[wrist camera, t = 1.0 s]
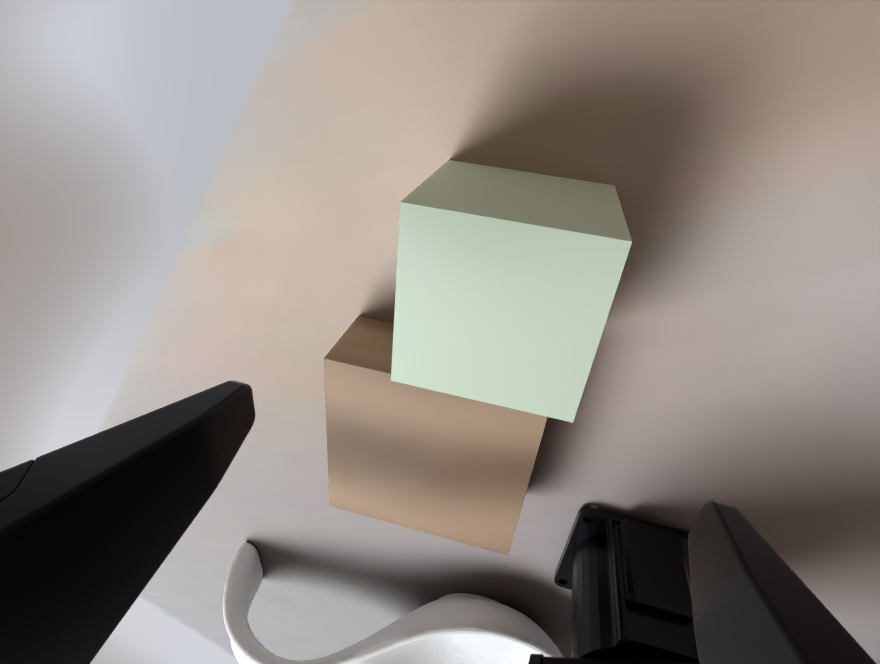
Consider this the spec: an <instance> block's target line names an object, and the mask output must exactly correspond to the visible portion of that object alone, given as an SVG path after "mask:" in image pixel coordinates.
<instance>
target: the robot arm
mask: <svg viewBox="0 0 880 664" xmlns="http://www.w3.org/2000/svg"><path fill="white" fill-rule="evenodd" d="M254 420H255V409H254V401H253V394H252V388H251V387H250V385H248V384H245V383H241V382H237V381H227V382H225V383H222V384H220V385H217V386H215V387H212V388H210V389H207V390H205V391H202V392H200V393H197V394H195V395H192V396H190V397H187V398H185V399H182V400H180V401H177V402H175V403H172V404H170V405H167V406H165V407H162V408H160V409H157V410H155V411H152V412H150V413H147V414H145V415H142V416H140V417H137V418H135V419H132V420H130V421H127V422H125V423H122V424H120V425H117V426H115V427H112V428H110V429H107V430H105V431H102V432H100V433H97V434H95V435H92V436H90V437H87V438H85V439H82V440H80V441H77V442H75V443H72V444H70V445H67V446H65V447H62V448H60V449H58V450H55V451H52V452H50V453H47V454H45V455H42V456H40V457H38V458H36V460H35V461H34V460H30V461H27V462H25V463H22V464H20V465H17V466H15V467H12V468H10V469H7V470H5V471H2V472H0V664H90V662H91V661H92V660H93V658H94V657H95V656H96V654H97V653H98V652H99V650H100V649H101V647H102V646H103V645H104V643H105V641H106V640H107V639H108V638H109V636H110V635H111V634H112V632H113V631H114V629H115V628H116V627H117V625H118V624H119V622H120V621H121V620H122V618H123V617H124V615H125V614H126V613H127V611H128V610H129V609H130V607H131V605H132V604H133V603H134V602H135V600H136V599H137V597H138V596H139V595H140V593H141V592H142V591H143V589H144V588H145V586H146V585H147V584H148V582H149V581H150V579H151V578H152V577H153V575H154V574H155V573H156V571H157V570H158V568H159V567H160V566H161V564H162V563H163V561H164V560H165V559H166V557H167V556H168V555H169V553H170V552H171V550H172V549H173V548H174V546H175V545H176V543H177V542H178V541H179V539H180V538H181V537H182V535H183V534H184V532H185V531H186V530H187V528H188V527H189V525H190V524H191V523H192V521H193V520H194V519H195V517H196V516H197V514H198V513H199V512H200V510H201V509H202V507H203V506H204V505H205V503H206V502H207V501H208V499H209V498H210V496H211V495H212V493H213V492H214V490H215V489H216V488H217V486H218V484H219V483H220V481H221V479H222V478H223V476H224V474H225V473H226V471H227V469H228V467H229V466H230V464H231V462H232V460H233V459H234V457H235V455H236V453H237V452H238V450H239V448H240V447H241V445H242V443H243V441H244V440H245V438H246V436H247V434H248V433H249V431H250V429H251V427H252V425H253V423H254ZM554 582H555V583H556V584H557V585H558V586H561V587H564V588H567V589H571V590H572V657H545V656H544V655H543V654H531V655H530V659H529V663H528V664H876V663H875V662H874V660H873V659H872V658H871V657H870V656H869V655H868V654H867V653H866V652H865V650H864V649H863V648H862V647H861V646H860V645H859V644H858V643H857V642H856V640H855V639H854V638H853V637H852V636H851V635H850V634H849V633H848V631H847V630H846V629H845V628H844V627H843V626H842V625H841V624H840V623H839V621H838V620H837V619H836V618H835V617H834V616H833V615H832V614H831V613H830V611H829V610H828V609H827V608H826V607H825V606H824V605H823V604H822V603H821V601H820V600H819V599H818V598H817V597H816V596H815V595H814V594H813V593H812V591H811V590H810V589H809V588H808V587H807V586H806V585H805V584H804V583H803V581H802V580H801V579H800V578H799V577H798V576H797V575H796V574H795V572H794V571H793V570H792V569H791V568H790V567H789V566H788V565H787V564H786V562H785V561H784V560H783V559H782V558H781V557H780V556H779V555H778V554H777V552H776V551H775V550H774V549H773V548H772V547H771V546H770V545H769V544H768V542H767V541H766V540H765V539H764V538H763V537H762V536H761V535H760V534H759V532H758V531H757V530H756V529H755V528H754V527H753V526H752V525H751V524H750V522H749V521H748V520H747V519H746V518H745V517H744V516H743V515H742V513H741V512H740V511H739V510H738V509H737V508H736V507H734V506H732V505H730V504H726V503H722V502H718V501H714V500H710V501H707V502H706V503H705V504H704V506H703V508H702V509H701V511H700V513H699V514H698V516H697V518H696V519H695V521H694V523H693V524H692V526H691V528H690V531H689V533H688V532H684V531H680V530H676V529H672V528H668V527H664V526H661V525H657V524H653V523H649V522H645V521H641V520H637V519H633V518H629V517H626V516H622V515H618V514H614V513H610V512H606V511H602V510H598V509H594V508H590V507H584V508H581V509H580V510H579V511H578V514H577V517H576V519H575V522H574V524H573V527H572V530H571V532H570V535H569V537H568V540H567V543H566V545H565V548H564V550H563V553H562V556H561V558H560V561H559V563H558V566H557V569H556V571H555V581H554Z"/></svg>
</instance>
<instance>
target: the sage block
mask: <svg viewBox="0 0 880 664" xmlns="http://www.w3.org/2000/svg"><path fill="white" fill-rule="evenodd" d="M631 244H632V239H631V236H630V233H629V230H628V226H627V223H626V220H625V217H624V213H623V210H622V207H621V204H620V201H619V197H618V194H617V191H616V188H615V185H609V184H603V183H596V182H590V181H583V180H577V179H570V178H564V177H557V176H551V175H544V174H538V173H531V172H525V171H518V170H512V169H505V168H499V167H493V166H486V165H480V164H473V163H467V162H460V161H454V160H448V161H447V162H446V163H445V164H444V165H443V166H441V167H440V168H439V169H438V170H437V171H436V172H435V173H433V174H432V175H431V176H430V177H429V178H428V179H426V180H425V181H424V182H423V183H422V184H421V185H419V186H418V187H417V188H416V189H415V190H414V191H413V192H411V193H410V194H409V195H408V196H407V197H406V198H404V199H403V200H402V201H401V202H400V218H399V236H398V255H397V274H396V293H395V311H394V330H393V349H392V368H391V381H395V382H399V383H403V384H408V385H412V386H416V387H421V388H425V389H429V390H434V391H438V392H442V393H447V394H451V395H455V396H460V397H464V398H468V399H473V400H477V401H481V402H486V403H490V404H494V405H498V406H503V407H507V408H511V409H516V410H520V411H524V412H529V413H533V414H537V415H542V416H546V417H550V418H555V419H559V420H563V421H568V422H572V423H573V421H574V418H575V415H576V412H577V409H578V406H579V403H580V400H581V397H582V394H583V391H584V388H585V385H586V382H587V378H588V375H589V372H590V369H591V366H592V363H593V360H594V357H595V354H596V351H597V348H598V345H599V342H600V339H601V336H602V333H603V330H604V326H605V323H606V320H607V317H608V314H609V311H610V308H611V305H612V302H613V299H614V296H615V293H616V290H617V287H618V284H619V281H620V278H621V275H622V271H623V268H624V265H625V262H626V259H627V256H628V253H629V250H630V247H631Z"/></svg>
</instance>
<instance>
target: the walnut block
mask: <svg viewBox="0 0 880 664" xmlns="http://www.w3.org/2000/svg"><path fill="white" fill-rule="evenodd" d="M393 330H394V323H390V322H385V321H381V320H376V319H371V318H367V317H362V316H358V317H357V319H356V320H355V321H354V322H353V324H352V325H351V326H350V327H349V328H348V330H347V331H346V332H345V333H344V335H343V336H342V337H341V338H340V339H339V341H338V342H337V343H336V344H335V346H334V347H333V348H332V349H331V351H330V352H329V353H328V354H327V355H326V357H325V358H324V373H325V399H326V425H327V450H328V476H329V502H330V506H332V507H336V508H339V509H343V510H346V511H350V512H354V513H357V514H361V515H364V516H368V517H372V518H375V519H379V520H382V521H386V522H389V523H393V524H397V525H400V526H404V527H407V528H411V529H415V530H418V531H422V532H425V533H429V534H433V535H436V536H440V537H443V538H447V539H450V540H454V541H458V542H461V543H465V544H468V545H472V546H476V547H479V548H483V549H486V550H490V551H494V552H497V553H501V554H504V555H508V554H509V550H510V547H511V543H512V540H513V536H514V533H515V529H516V526H517V522H518V519H519V515H520V512H521V508H522V505H523V501H524V498H525V494H526V491H527V487H528V484H529V480H530V477H531V473H532V470H533V466H534V463H535V459H536V456H537V452H538V449H539V445H540V442H541V438H542V435H543V431H544V428H545V424H546V421H547V417H546V416H542V415H537V414H533V413H529V412H524V411H520V410H516V409H511V408H507V407H503V406H498V405H494V404H490V403H486V402H481V401H477V400H473V399H468V398H464V397H460V396H455V395H451V394H447V393H442V392H438V391H434V390H429V389H425V388H421V387H416V386H412V385H408V384H403V383H399V382H395V381H391V368H392V349H393Z"/></svg>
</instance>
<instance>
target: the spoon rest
mask: <svg viewBox="0 0 880 664" xmlns="http://www.w3.org/2000/svg"><path fill="white" fill-rule="evenodd" d="M262 579H263V570H262V566H261V563H260V559H259V554H258V552H257V550H256V548H255V547H254V546H253V545H251V544H249V543H244V544H243V545H242V546H241V547H240V549H239V551H238V552H237V554H236V556H235V558H234V560H233V562H232V565H231V567H230V570H229V573H228V576H227V579H226V583H225V589H224V595H223V617H224V623H225V626H226V629H227V633H228V635H229V637H230V640H231V646H232V649H233V652H234V655H235V657H236V659H237V661H238V663H239V664H528V663H529V659H530V655H531V654H543V655H544V656H545V657H563V655H562V654H561V652H560V651H559V649H558V648H557V646H556V645H555V644H554V642H553V641H552V640H551V639H550V637H549V636H548V635H547V634H546V633H545V632H544V631H543V630H542V629H541V628H540V627H539V626H538V625H537V624H536V623H534V622H533V621H532V620H531V619H529V618H528V617H527V616H525V615H524V614H522V613H520V612H518V611H516V610H514V609H513V608H510V607H508V606H506V605H503V604H501V603H499V602H497V601H495V600H492V599H489V598H486V597H482V596H478V595H473V594H467V593H454V594H448V595H445V596H442V597H441V598H439V599H438V600H436V601H433V602H430V603H427V604H425V605H423V606H421V607H419V608H417V609H415V610H414V611H412V612H410V613H409V614H407V615H405V616H403V617H402V618H400V619H398V620H397V621H395V622H393V623H392V624H390V625H388V626H387V627H385V628H383V629H381V630H380V631H378V632H376V633H375V634H373V635H371V636H370V637H368V638H366V639H364V640H362V641H360V642H358V643H356V644H354V645H352V646H350V647H348V648H346V649H343V650H341V651H339V652H337V653H334V654H331V655H329V656H326V657H322V658H318V659H313V660H305V661H294V660H288V659H284V658H281V657H279V656H276V655H275V654H273V653H271V652H270V651H269V650H267V649H266V648H265V647H264V646H263V645H262V644H261V643H260V642H259V641H258V640H257V639H256V637H255V636H254V634H253V633H252V631H251V629H250V627H249V624H248V620H247V615H248V611H249V608H250V605H251V602H252V600H253V598H254V596H255V594H256V592H257V590H258V588H259V586H260V584H261V581H262Z"/></svg>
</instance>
